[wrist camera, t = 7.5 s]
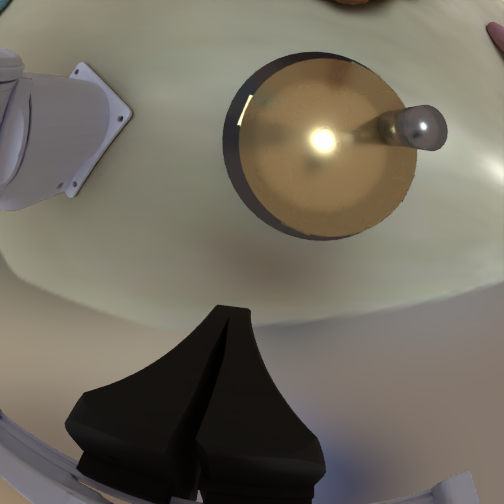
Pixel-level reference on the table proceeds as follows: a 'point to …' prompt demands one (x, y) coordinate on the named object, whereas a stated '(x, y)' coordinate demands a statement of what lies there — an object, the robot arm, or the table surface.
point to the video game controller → (496, 34)
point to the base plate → (232, 139)
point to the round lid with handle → (332, 146)
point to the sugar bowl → (3, 3)
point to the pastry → (352, 1)
